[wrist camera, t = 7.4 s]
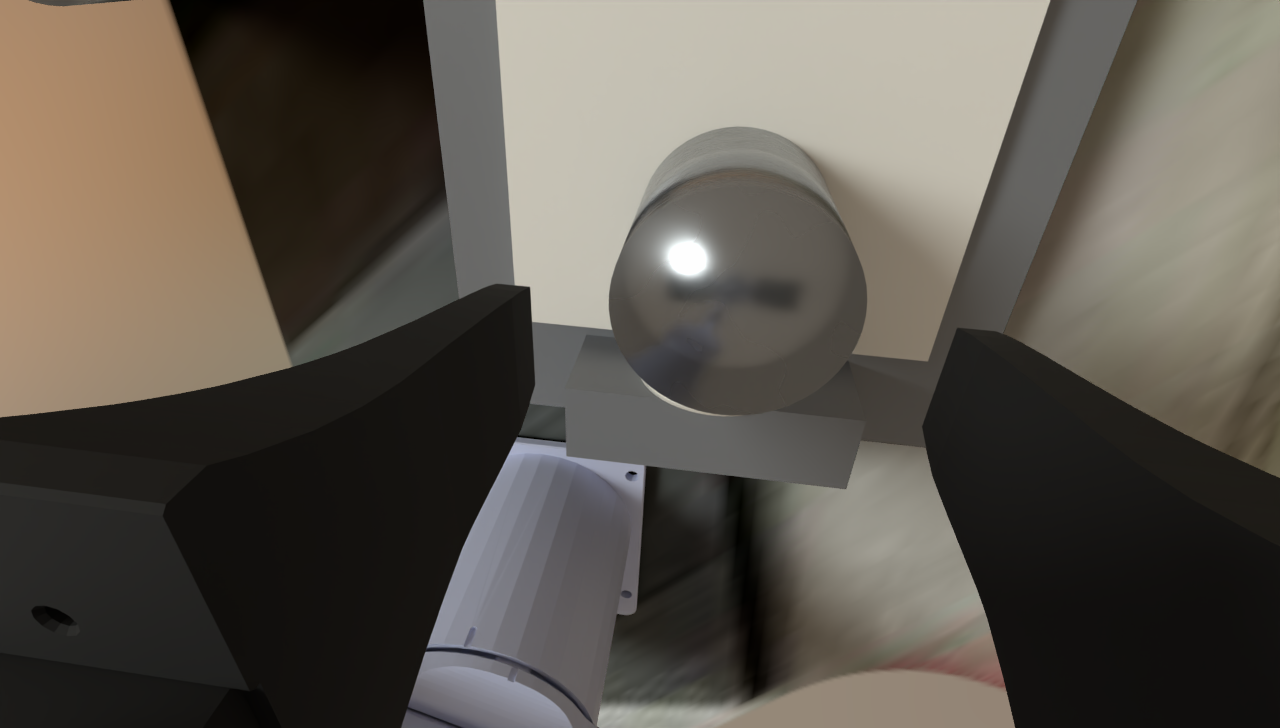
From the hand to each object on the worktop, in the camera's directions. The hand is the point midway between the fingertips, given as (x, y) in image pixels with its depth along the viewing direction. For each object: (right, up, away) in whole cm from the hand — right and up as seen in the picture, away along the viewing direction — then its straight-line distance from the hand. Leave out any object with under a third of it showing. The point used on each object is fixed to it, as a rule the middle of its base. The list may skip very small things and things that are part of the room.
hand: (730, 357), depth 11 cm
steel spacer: (+1, +4, +6) cm, 7 cm away
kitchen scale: (+1, +7, +7) cm, 10 cm away
